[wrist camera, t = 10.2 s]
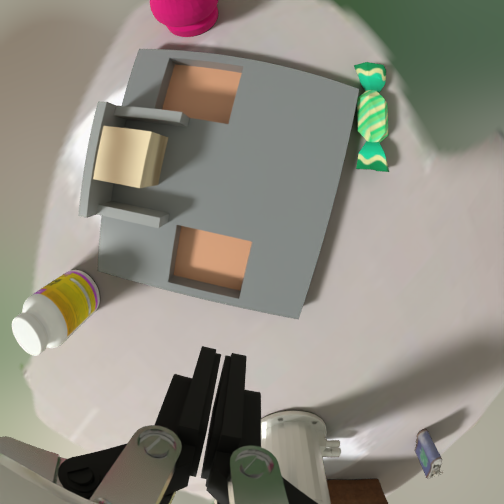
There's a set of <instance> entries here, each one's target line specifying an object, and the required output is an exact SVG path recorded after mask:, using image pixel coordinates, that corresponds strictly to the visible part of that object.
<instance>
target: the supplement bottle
mask: <svg viewBox="0 0 504 504" xmlns="http://www.w3.org/2000/svg"><path fill="white" fill-rule="evenodd" d="M99 302H100V296H99V291H98V288H97V286H96V284H95V282H94V281H93V280H92V278H91V277H90V276H89V275H87V274H86V273H84V272H82V271H80V270H71V271H68V272H67V273H65V274H63V275H62V276H60V277H59V278H57V279H55V280H54V281H52V282H51V283H49V284H48V285H46V286H45V287H43V288H42V289H40V290H39V291H37V292H36V293H34V294H33V295H31V296H30V297H28V299H26V301H25V303H24V306H23V311H22V313H20V314H19V315H18V316H16V317H15V318H14V320H13V322H12V330H13V334H14V336H15V338H16V340H17V341H18V343H19V345H20V346H21V347H22V348H23V349H24V350H25V351H26V352H27V353H29V354H31V355H34V356H37V355H39V354H41V353H42V352H43V351H44V350H45V349H46V347H47V348H57V347H59V346H61V345H62V344H63V343H64V342H65V341H66V340H67V339H68V338H69V337H70V336H71V335H72V334H73V333H74V332H75V331H76V330H77V329H78V328H79V327H80V326H81V325H82V324H83V323H84V322H85V321H86V320H87V319H88V318H89V317H90V316H91V315H92V314H93V313H94V312H95V311H96V310H97V308H98V306H99Z"/></svg>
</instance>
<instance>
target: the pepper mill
mask: <svg viewBox="0 0 504 504" xmlns="http://www.w3.org/2000/svg"><path fill="white" fill-rule="evenodd" d="M217 3H218V0H150V7H151V11H152V13H153V15H154V16H155V18H156V19H157V20H158V21H159V22H160V23H162V24H164V25H166V26H167V28H168V29H169V30H170V31H171V32H172V33H173V34H175V35H177V36H181V37H191V36H196V35H199V34H202V33H204V32H206V31H207V30H209V29H210V28H211V27H212V26H213V25H214V24H215V22H216V20H217V18H218V9H217Z"/></svg>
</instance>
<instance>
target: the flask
mask: <svg viewBox="0 0 504 504" xmlns="http://www.w3.org/2000/svg"><path fill="white" fill-rule="evenodd" d="M424 430H425V431H424ZM416 443H417V444H416V447H415V452H416V454H417V456H418V459H419V461H420V464H421V466H422V468H423V471H424V473H425V475H426V478H427V479H429V478H432V477H435V476H439V474H440V473H441V474H442V473H443V472H440V467H441V463H442V458H441V456H440V454H439V452H438V451H437V448H436V446H435V444H434V443H433V441H432V439H431V437H430V435H429V433H428V431H427V430H426V429H423V430H422V431H419V433H418V434H417V440H416ZM441 474H440V475H441Z"/></svg>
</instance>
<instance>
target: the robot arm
mask: <svg viewBox="0 0 504 504" xmlns="http://www.w3.org/2000/svg"><path fill="white" fill-rule="evenodd" d="M220 358H221V354H217V353H216V349H212V348H208V347H203V346H202V348H201V351H200V355H199V358H198V361H197V365H196V368H195V371H194V375H193V378H188V377H184V376H181V375H177V374H174V376H173V378H172V381H171V383H170V386H169V389H168V391H167V394H166V396H165V399H164V402H163V404H162V407H161V410H160V412H159V415H158V418H157V420H156V423H155V425H150V426H145V427H142V428H140V429H138V430H137V431H136V432H135V433H134V435H133V436H132V438H131V439H130V441H129V442H128V443H127V444H124V445H121V446H117V447H113V448H110V449H106V450H102V451H98V452H94V453H90V454H85V455H81V456H76V457H72V458H69V459H65V458H61V457H60V456H59V455H58V454H56V453H53V452H49V451H46V450H43V449H40V448H37V447H34V446H32V445H29V444H26V443H24V442H21V441H18V440H16V439H13V438H11V437H6V436H5V437H0V504H171V502H172V500H173V498H174V496H175V493H176V491H178V490H180V489H182V488H185V487H187V486H188V481H189V476H194V477H196V474H197V470H198V466H199V462H200V457H201V453H202V449H203V445H204V440H205V436H206V431H207V427H208V421H209V416H210V411H211V405H212V400H213V395H214V389H215V384H216V379H217V373H218V368H219V363H220ZM245 373H246V356H244V355H239V354H234V353H232V355H231V357H230V356H225V360H224V364H223V368H222V372H221V377H220V381H219V385H218V389H217V393H216V397H215V402H214V406H213V411H212V417H211V422H210V428H209V433H208V439H207V445H206V451H205V456H204V462H203V468H202V474H201V478H204V479H207V480H206V486H207V491H208V492H209V493H210V494H211V495H212V496H213V497H214V498H215V499H214V504H331V502H330V497H329V491H328V486H327V480H326V475H325V469H324V464H323V459H322V457H339V456H340V454H341V449H340V448H339V446H340V441H339V440H331V441H327V439H325V437H326V434H327V430H326V425H325V423H324V421H323V420H322V419H321V418H320V417H318V416H317V415H314V414H312V413H309V412H304V411H284V412H278V413H274V414H271V415H269V416H266V417H264V418H262V419H261V394H260V392H254V391H249V390H244V389H245ZM326 447H329V448H326Z"/></svg>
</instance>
